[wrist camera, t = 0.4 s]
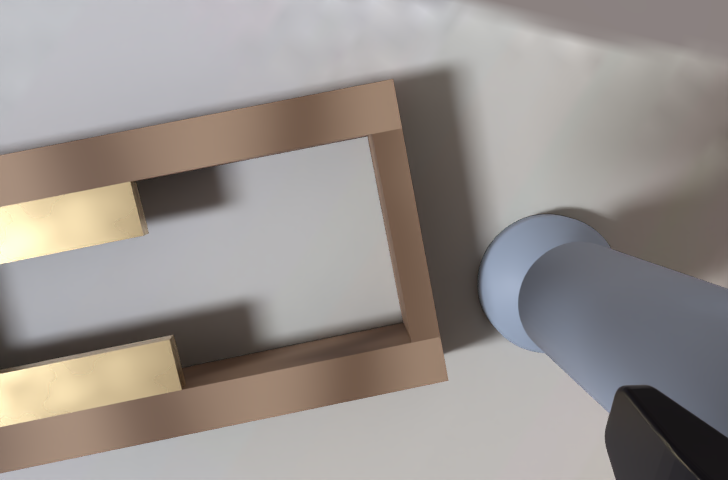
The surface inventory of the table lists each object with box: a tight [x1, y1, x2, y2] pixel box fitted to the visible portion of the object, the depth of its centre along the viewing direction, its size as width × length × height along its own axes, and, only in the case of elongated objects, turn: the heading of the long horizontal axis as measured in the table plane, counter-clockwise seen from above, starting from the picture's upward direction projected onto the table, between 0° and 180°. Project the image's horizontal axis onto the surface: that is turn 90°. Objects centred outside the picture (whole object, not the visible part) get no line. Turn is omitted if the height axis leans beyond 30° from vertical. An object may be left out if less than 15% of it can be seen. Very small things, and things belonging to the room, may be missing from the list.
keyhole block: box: [0, 79, 448, 473], centre depth 22 cm, size 19×10×3 cm, turn 101°
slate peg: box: [478, 214, 728, 437], centre depth 17 cm, size 5×5×16 cm
